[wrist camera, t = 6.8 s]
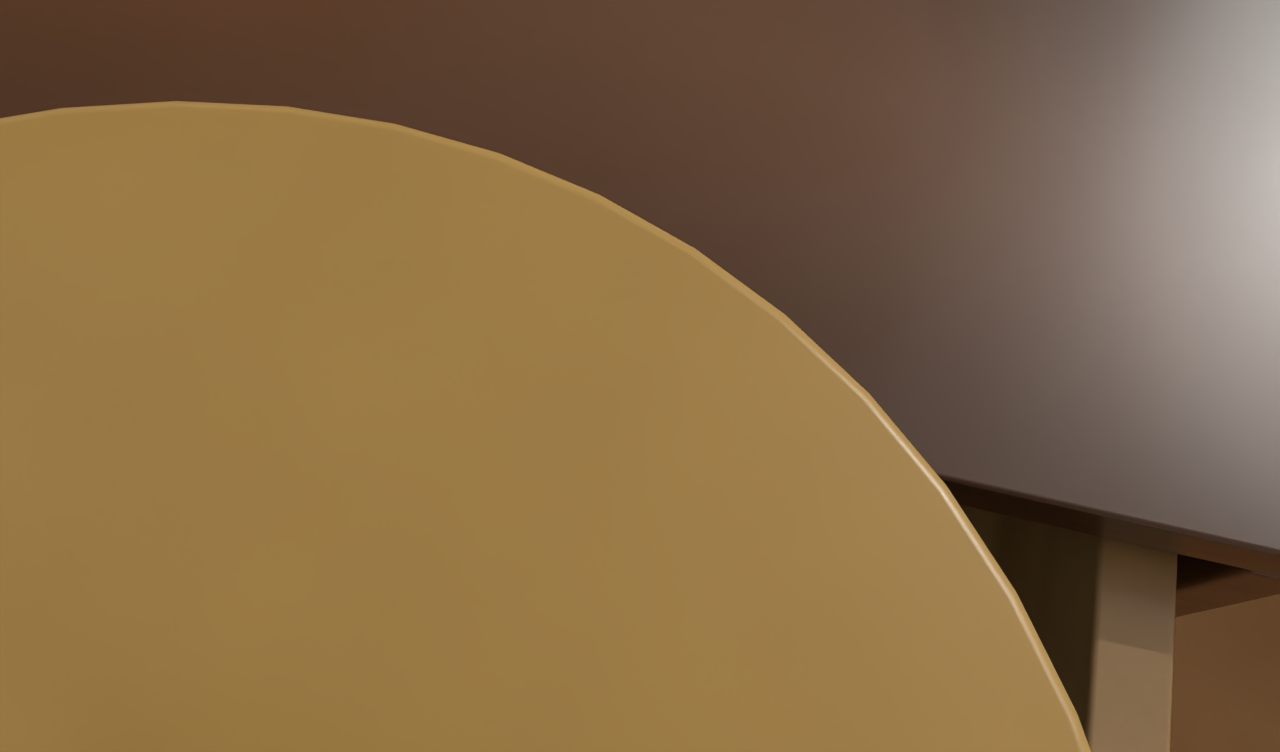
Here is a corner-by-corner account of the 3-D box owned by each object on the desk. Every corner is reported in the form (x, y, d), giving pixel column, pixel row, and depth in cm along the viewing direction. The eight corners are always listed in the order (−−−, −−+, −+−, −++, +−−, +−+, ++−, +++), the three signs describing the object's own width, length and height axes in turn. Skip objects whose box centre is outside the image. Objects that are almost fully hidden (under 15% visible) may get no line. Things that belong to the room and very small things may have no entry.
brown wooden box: (1008, 656, 17) (1374, 576, 9) (124, 456, 17) (-246, 211, 10) (1074, -73, 22) (1346, -519, 15) (394, -218, 23) (298, -736, 15)
